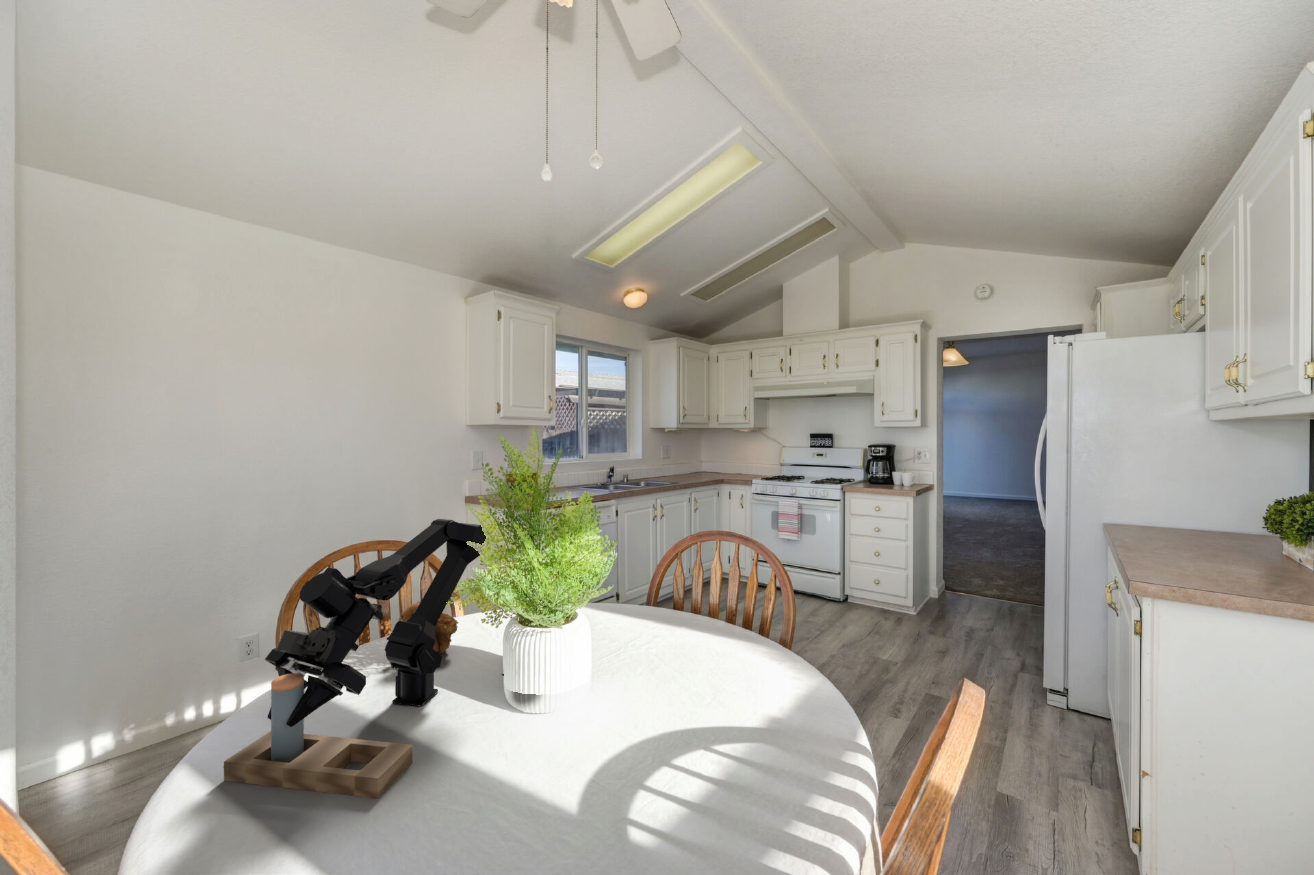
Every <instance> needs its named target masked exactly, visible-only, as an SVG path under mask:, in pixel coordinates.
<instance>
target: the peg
mask: <svg viewBox="0 0 1314 875" xmlns="http://www.w3.org/2000/svg"><path fill="white" fill-rule="evenodd" d="M304 680H305V676H304V675H303V674H300V673H292V674H286V675H282V676H279V675H278V676H277V677H275V678H274V679H272V680H271V683H270V684H271V685H270V687H271V688H270V689H271V691H270V693H271V694H270V699H271V700H270V701H271V702H270V703H271V704H270V708H271V720H270V724H271V725H270V731H271V761H277V762H287V763H290V762H291V761H293V760H294V759H295V758H297V757H298V756H299V755H301V754H302V753H303V752H304V734H305V732H304V731H305V718H304V719H302V720H301V721H300V722H298V723H297V724H295V725H294V726H293V727H290V726H288V725H286V723H287V721H288V719H289V717H290V715H291V714H292V712H293V710H294V709H295V707H296V706H297V704H298V702H299V701H300V699H301V698H302V696H303V695H304V693H305V689H304Z"/></svg>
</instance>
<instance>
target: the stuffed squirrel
mask: <svg viewBox="0 0 1314 875" xmlns="http://www.w3.org/2000/svg"><path fill="white" fill-rule="evenodd" d="M420 602H421V600H419V601H417V602H416V603H413V604H411V605H409V606H408V607H407V608H406V609H404V610H403V611H402V613H401V614H400V616H399V618H398V621H405V622H406V621H407V620H409V619H410V618H411V617H412V616H413V615H414V613H415V611H416V610H417V608H418V606H419V604H420ZM459 623H460V622H459V621H458V620H457V619H456V618H454V617H453V616H452V615H450V614H448V613H445V612H442V614H441V616H440V618H439V620H438V622H437V623H436V626H435V639H436V640H435V644H434V646H433V649H434V650H435V651H436V652H437V653H439V654H440V655H442V654H443V653H445V652H447V650H448V649H449V647H450V646H451V642H452V639H451V638H452V635H453V634H456V632H457V630H458V628H459V627H458V626H457V625H458V624H459ZM441 653H442V654H441Z"/></svg>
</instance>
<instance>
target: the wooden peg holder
mask: <svg viewBox="0 0 1314 875" xmlns="http://www.w3.org/2000/svg"><path fill="white" fill-rule="evenodd" d="M413 748H414V746H413V744H410V743H409V744H408V743H406V744H405V743H398V742H388V741H379V740H369V739H367V740H366V739H360V738H349V737H339V736H328V735H318V734H309V733H304V752H303V753H302V754H301V755H299V756H298V757H297V758H295V759H294V760H293V761H291V762H290V763H287V762H277V761H271V730H270V731H269V732H267V733H266V734H264V735H262V736H261V737H259V738H258V739H256V740H255V741H253V742H252V743H250V744H249V745H247V746H245V747H244V748H242V749H241V750H239V751H238V752H236V753H234V754H233V755H232V756H230V757H228V758H226V759H225V760H223V781H225V782H233V783H243V784H252V785H260V786H268V787H278V788H284V789H285V788H287V789H292V790H293V789H295V790H303V791H309V792H320V793H330V794H335V795H337V794H338V795H344V796H352V797H353V796H354V797H362V798H371V799H379V798H380V797H381V795H383V794H384V793H385V791H387V790H388V789H389V788H390V787H391V786H392V785H393V784H394V783H395V781H397V780H398V778H399V777H400V776H402V774H404V773H405V771H406V770H407V769H409V767H410V766H411V765H412V764H413V756H414V755H413V751H414V750H413ZM352 762H353V763H363V764H366V765H365V766H363V768H361V769H360V770H359V769H358V770H357V769H348V768H345V767H346V766H347V765H349V763H352Z"/></svg>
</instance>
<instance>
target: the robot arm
mask: <svg viewBox="0 0 1314 875" xmlns="http://www.w3.org/2000/svg"><path fill="white" fill-rule="evenodd" d="M481 525H482V524H477V523H475V524H474V523H466V522H465V523H464V522H458V521H455V520H453V519H447V518H446V519H445V518H437V519H434V520H433V521H432V522H430V525H428V526H427V527H426V528H424V530H422V531H421V532H419V534H417V535H415V537H413V538H412V539H411V540H408V541H407V543H406V544H404V545H403V546H401V547H400V548H399V549H397V551H395V552H393V553H392V554H391V555H389V556H386V557H383V558H380V559H376V560H374V561H372V562H370V563H368V564H366V565H364V566H363V567H361V568H359V570H358V571H357V572H356V573H355V574H353V575H350V576H347V577H345V576H344V575H343V573H342V572H341V571H340V570H338V568H335V567H331V566H330V567H326V569H325V570H324V571H323V572H321V573H318V574H316V575H314V576H313V577H312V578H310V579H309V580H307V581H306V582H305V583H304V584H303V585H302V588H301V589H300V591H299V600H300V601H301V602H303V603H304V604H305V605H306V606H308V607H310V608H311V609H312V610H314V611H315V612H316V613H317V614H319V615H321V616H322V617H323V618H325V619H330V620H329V621H328V623H327V624H326V626H325V627H323V626H320V625H319V626H318V627H316V628H315V629H312V630H311V631H310V632H303V631H298V630H291V629H289V630H288V629H284V630H283V632H282V635H281V638H280V639H279V642H278V644H277V647H276V648H273V649H271V650H270V652H269V653H268V654H267V656H266V657H265V658H264V661H265V662H266V663H269V664H270V665H272V666H274V668H275V671H277V674H278V677H279V676H282V675H286V674H292V673H300V674H303V675H304V677H306V674H309V675H307V680H305V679H304V695H303V696H302V698H301V699H300V701H299V702H298V704H297V706H296V707H295V709H294V710H293V712H292V714H291V715H290V717H289V719H288V721H287V723H286V725H288V726H290V727H293V726H294V725H295V724H297V723H298V722H300V721H301V720H302V719H304V720H305V719H306V718H307V717H308V716H309V715H311V714H312V713H314V712H315V711H316V710H318V709H319V708H321V706H324V705H325V704H326V703H329V702H330V701H332V700H333V699H334V698H336V697H337V696H342V695H343V694H344V691H342V689H343V688H344V687H345V691H346V692H348V693H351V694H354V695H357V696H360V695H361V692H362V691H363V690H364V688H365V687H366V685H367V676H366V675H365V674H364V673H361V671H358V670H357V669H356V668H354V667H353V666H351V665H349V664H346V663H343V662H344V660H345V659H346V657H347V656H348V654H349V653H350V652H351V651H352V652H357V650H358V649H359V647H360V645H358V644H357V643H356V642H357V641H358V640H359V638H360V637H361V635H362V634H363V632H364V631H365V629H367V626H368V624H370V622H371V620H372V619H374V620H377V621H383V619H384V614H383V611H382V604H378V603H372V602H370V601H369V600H368V599H372V600H373V599H374V600H379V601H389V600H390V599H392V598H393V597H395V596H396V595H397V593H399V591H400V590H401V589H402V587H404V586H405V584H406V582H407V579H408V577H409V575H410V573H411V572H412V571H413V570H414V569H415V568H417V567H418V566H420V565H421V563H423V562H424V561H425V560H426V559H427V558H429V556H431V555H433V554H434V553H435V551H437V550H438V549H440V547H441V546H443V545H444V544H445V543H446V544H445V545H446V546H445V547H446V556H445V558H444V559H443V562H442V563H441V565H440V567H439V569H438V570H437V573H436V574H435V576H434V577H433V579H432V580H431V583H430V585H429V586H428V588H427V590H426V592H425V594H424V595H423V597H422V599H421V600H420V604H419V606H418V608H417V610H416V611H415V613H414V615H413V616H412V617H411V618H410V619H409V620H407V621H406V622H405V621H401V620H400V621H399V620H398V621H397V622H396V623H395V625H394V627H393V629H392V631H391V633H390V634H389V636H387V637H386V641H387V642H386V644H385V648H384V652H385V657H386V659H387V661H388V662H389V664H390V667H391V669H397V670H396V671H397V672H396V675H395V677H394V678H395V683H394V687H395V688H394V689H395V690H394V694H395V695H394V696H395V698H393V700H392V701H391V704H393V705H394V704H395V705H404V706H405V705H407V706H414V707H416V706H417V707H421V706H423V705H425V704H426V703H427V702H428V701H429V700H430V699H431V698H433V697H434V696H435V695H436V694H437V693H438V692H439V689H438V688H435V672H436V670H437V669H439V668H440V666H441V664H442V659H443V656H442V654H439V653H437V652H436V651H435V650H434V649H433V646H434V644H435V640H436V639H435V626H436V623H437V622H438V620H439V618H440V616H441V614H442V613H444V610H445V608H446V606H447V604H448V603H449V601H450V599H451V597H452V595H453V593H454V591H455V589H456V587H457V585H458V584H459V581H460V580H461V578H462V576H463V574H464V572H465V570H466V569H467V566H469V564H470V563H472V562H473V561H474V560H476V559H478V558H479V557H480V556H481V555H480V554H479V553H478V551H476V550H475V549H474V548H473V547H471V546H469V545H467V543H466V542H467V541H471V542H475V543H479V544H481V545H482V543H484V541H485V539H486V536H485V535H484V532H483V531H482V527H481ZM357 595H358V596H359V598H358V597H357ZM366 598H368V599H366ZM446 602H447V603H446ZM305 689H306V690H305ZM267 719H268V720H270V721H271V707H270V708H269V711H268V714H267Z"/></svg>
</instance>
